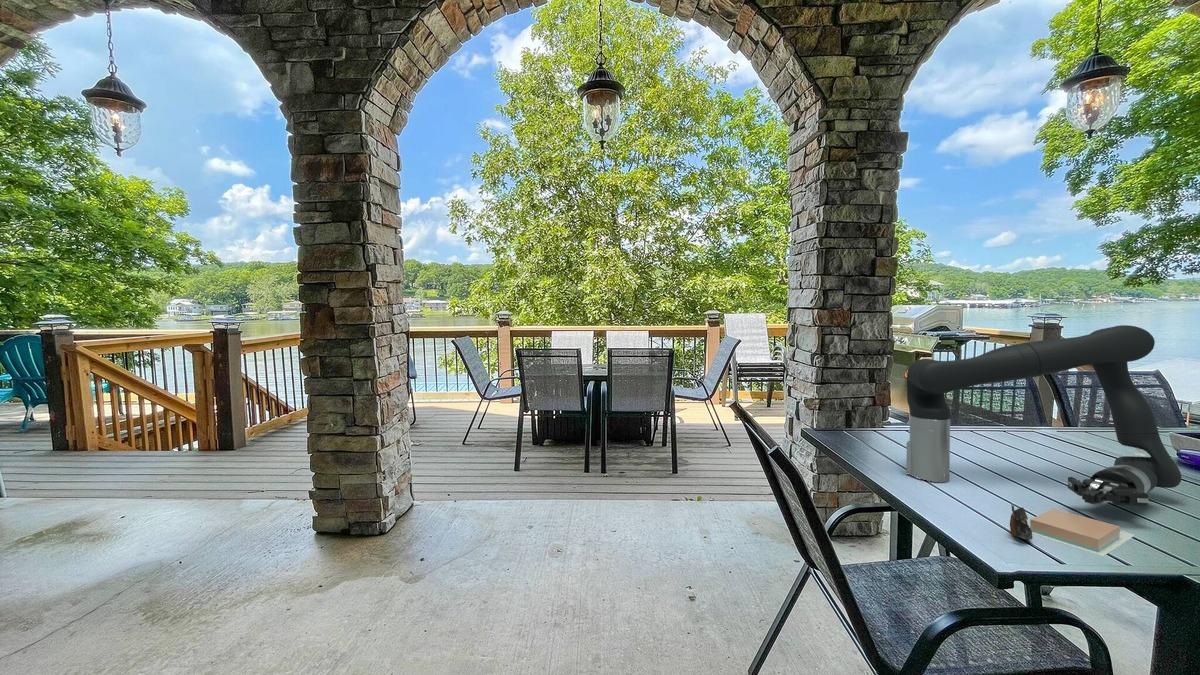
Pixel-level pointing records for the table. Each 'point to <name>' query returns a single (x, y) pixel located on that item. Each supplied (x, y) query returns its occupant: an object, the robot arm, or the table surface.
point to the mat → (1123, 538)
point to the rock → (1020, 524)
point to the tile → (1075, 529)
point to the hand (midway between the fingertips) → (1089, 498)
